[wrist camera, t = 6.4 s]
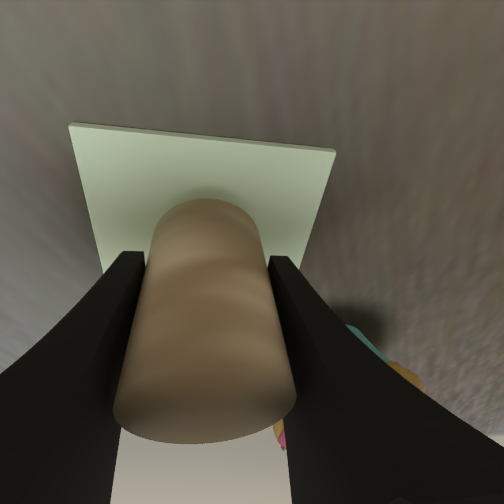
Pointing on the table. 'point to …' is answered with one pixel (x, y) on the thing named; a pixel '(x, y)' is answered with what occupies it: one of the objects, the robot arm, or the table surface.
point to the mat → (196, 184)
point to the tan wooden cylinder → (204, 333)
